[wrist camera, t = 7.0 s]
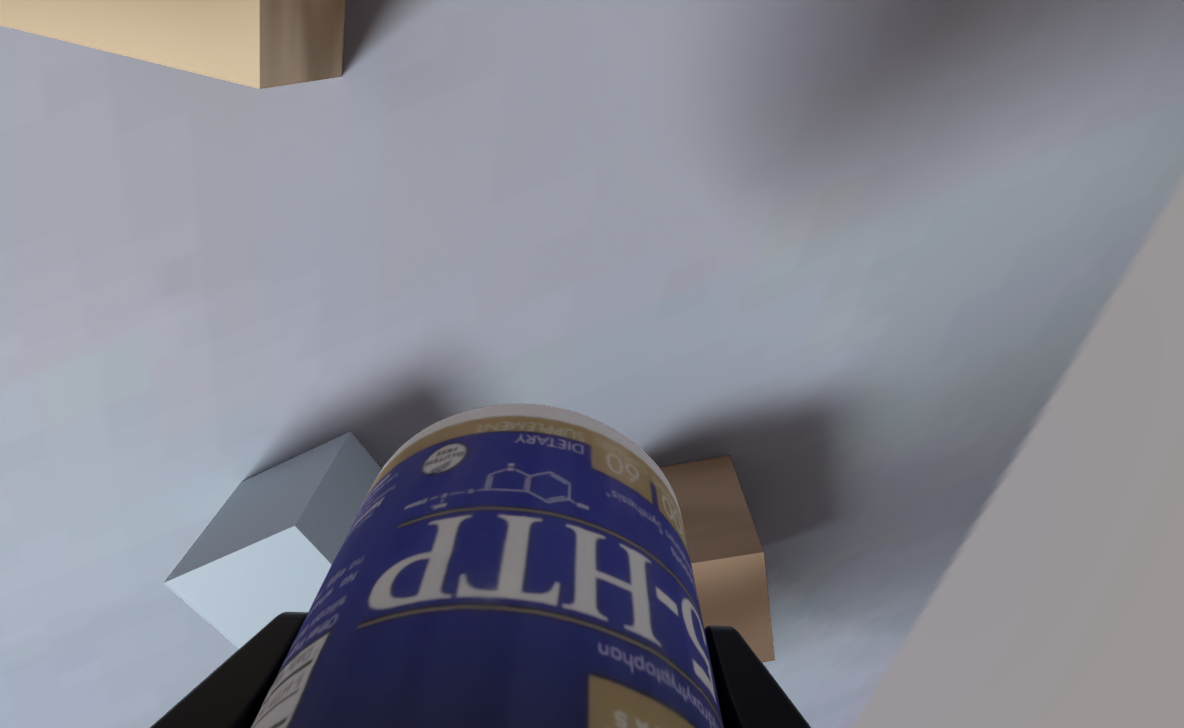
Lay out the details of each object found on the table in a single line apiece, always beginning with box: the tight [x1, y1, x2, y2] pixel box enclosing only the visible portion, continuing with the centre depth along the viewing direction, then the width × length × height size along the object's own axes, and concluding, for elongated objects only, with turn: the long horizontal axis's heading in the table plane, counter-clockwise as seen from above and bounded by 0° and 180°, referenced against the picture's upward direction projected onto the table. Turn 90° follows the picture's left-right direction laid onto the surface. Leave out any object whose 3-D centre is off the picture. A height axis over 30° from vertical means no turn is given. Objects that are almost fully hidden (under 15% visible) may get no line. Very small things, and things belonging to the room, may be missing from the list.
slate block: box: [164, 431, 382, 649], centre depth 22 cm, size 5×5×5 cm
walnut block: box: [659, 455, 775, 662], centre depth 22 cm, size 5×5×5 cm
